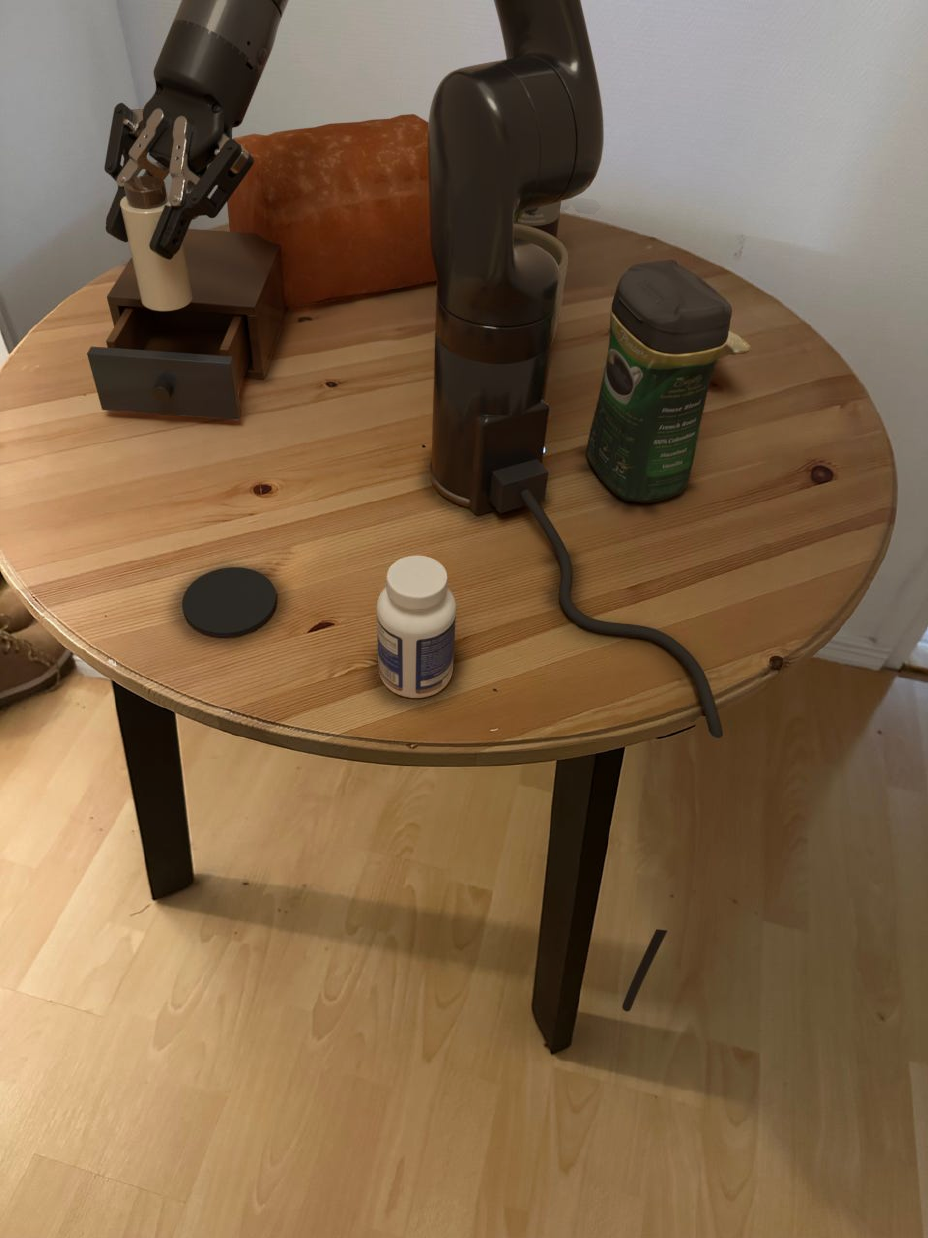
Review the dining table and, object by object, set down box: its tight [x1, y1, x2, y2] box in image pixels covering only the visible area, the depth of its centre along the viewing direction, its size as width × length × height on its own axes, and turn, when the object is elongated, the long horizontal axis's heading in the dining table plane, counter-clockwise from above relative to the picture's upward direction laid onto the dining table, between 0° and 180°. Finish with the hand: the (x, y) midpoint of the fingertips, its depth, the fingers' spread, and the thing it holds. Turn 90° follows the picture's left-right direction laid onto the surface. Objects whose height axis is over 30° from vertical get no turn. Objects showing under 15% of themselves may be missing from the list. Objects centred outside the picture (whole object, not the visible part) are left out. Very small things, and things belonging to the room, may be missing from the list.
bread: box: [226, 113, 437, 309], centre depth 105 cm, size 17×24×15 cm
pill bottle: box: [376, 555, 457, 699], centre depth 65 cm, size 5×5×10 cm
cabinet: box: [106, 228, 290, 381], centre depth 96 cm, size 15×14×8 cm
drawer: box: [86, 306, 252, 421], centre depth 89 cm, size 15×13×6 cm
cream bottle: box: [120, 175, 193, 311], centre depth 80 cm, size 4×4×10 cm
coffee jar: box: [586, 259, 733, 503], centre depth 80 cm, size 10×8×19 cm
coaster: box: [181, 566, 278, 639], centre depth 72 cm, size 7×7×1 cm
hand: (138, 244), depth 79 cm, fingers closed on cream bottle, 4 cm apart
